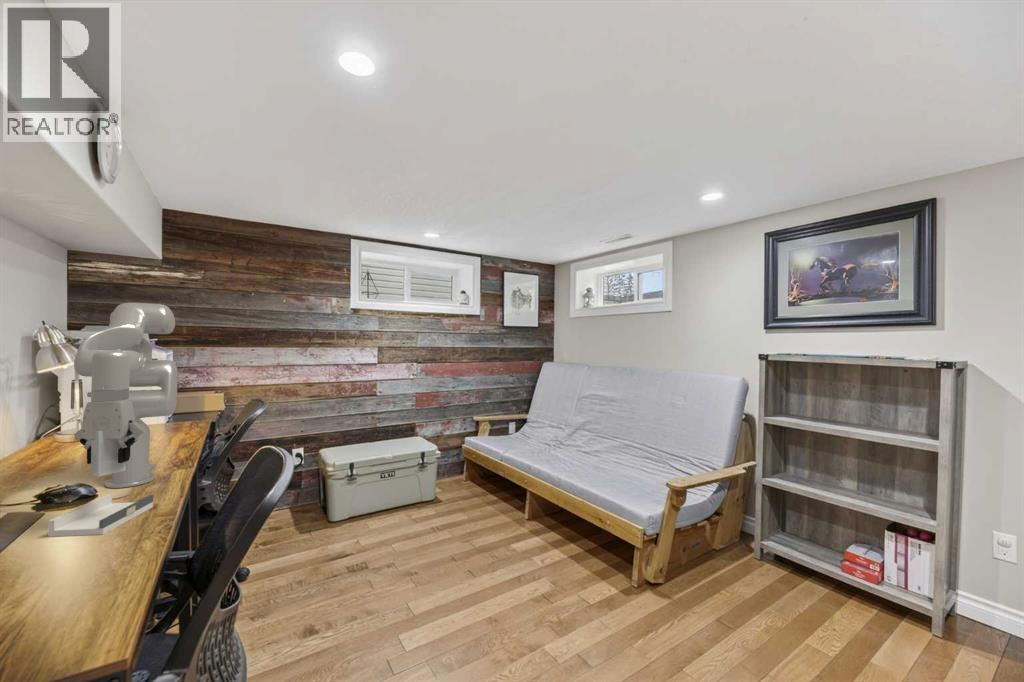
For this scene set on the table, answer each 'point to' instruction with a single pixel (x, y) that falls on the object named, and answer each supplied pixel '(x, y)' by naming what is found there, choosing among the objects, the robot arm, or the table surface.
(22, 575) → the table surface
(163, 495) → the table surface
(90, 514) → the display shelf
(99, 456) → the skincare box
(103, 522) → the price rail
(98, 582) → the table surface
